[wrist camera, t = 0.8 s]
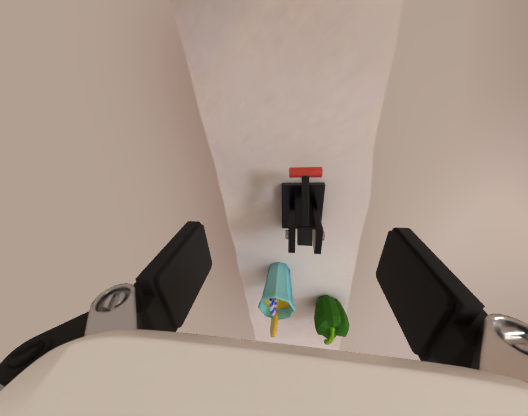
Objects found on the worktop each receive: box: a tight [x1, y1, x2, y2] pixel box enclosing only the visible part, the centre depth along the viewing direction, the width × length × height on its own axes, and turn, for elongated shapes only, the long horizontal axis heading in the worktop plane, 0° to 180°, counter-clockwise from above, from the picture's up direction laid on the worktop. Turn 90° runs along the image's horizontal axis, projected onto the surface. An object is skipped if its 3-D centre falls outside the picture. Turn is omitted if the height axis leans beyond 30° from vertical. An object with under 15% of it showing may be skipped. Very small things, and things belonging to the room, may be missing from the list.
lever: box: [289, 167, 322, 246], centre depth 30 cm, size 12×5×2 cm, turn 1°
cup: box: [258, 262, 295, 337], centre depth 42 cm, size 14×8×15 cm, turn 6°
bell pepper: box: [314, 296, 349, 344], centre depth 48 cm, size 8×8×10 cm
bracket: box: [282, 183, 325, 254], centre depth 34 cm, size 10×8×12 cm
